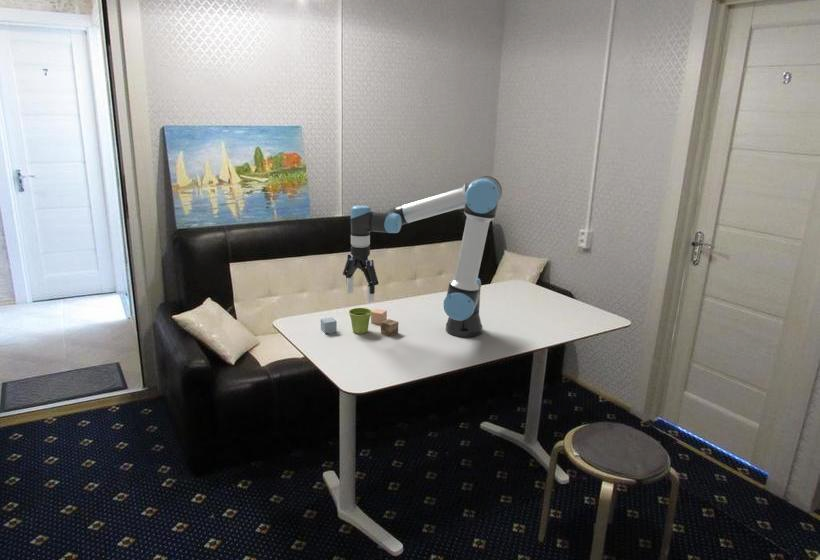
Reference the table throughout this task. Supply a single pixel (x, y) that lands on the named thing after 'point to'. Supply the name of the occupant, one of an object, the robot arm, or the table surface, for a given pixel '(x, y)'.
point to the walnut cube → (389, 327)
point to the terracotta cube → (378, 316)
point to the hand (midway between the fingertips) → (360, 297)
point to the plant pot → (360, 319)
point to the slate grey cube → (328, 325)
